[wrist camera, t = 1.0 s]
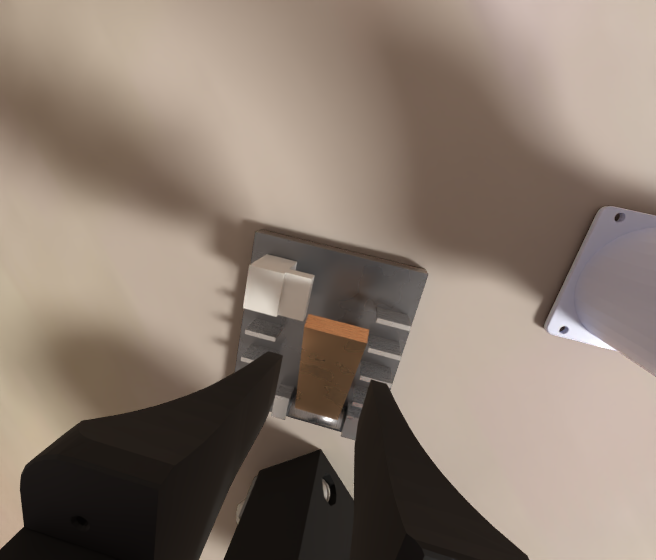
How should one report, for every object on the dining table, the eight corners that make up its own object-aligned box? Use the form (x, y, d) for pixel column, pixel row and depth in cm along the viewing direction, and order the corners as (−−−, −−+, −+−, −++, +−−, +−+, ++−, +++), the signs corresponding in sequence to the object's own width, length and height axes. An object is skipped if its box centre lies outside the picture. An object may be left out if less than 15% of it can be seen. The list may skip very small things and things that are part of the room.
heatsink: (425, 269, 20) (433, 282, 17) (373, 429, 24) (373, 461, 21) (261, 229, 21) (244, 236, 18) (237, 390, 25) (219, 416, 22)
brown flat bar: (376, 326, 15) (372, 350, 14) (342, 412, 23) (338, 432, 22) (304, 307, 16) (296, 330, 15) (294, 399, 23) (288, 418, 22)
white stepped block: (320, 267, 20) (310, 280, 17) (312, 304, 21) (301, 323, 18) (267, 254, 20) (249, 264, 17) (260, 291, 21) (242, 308, 18)
